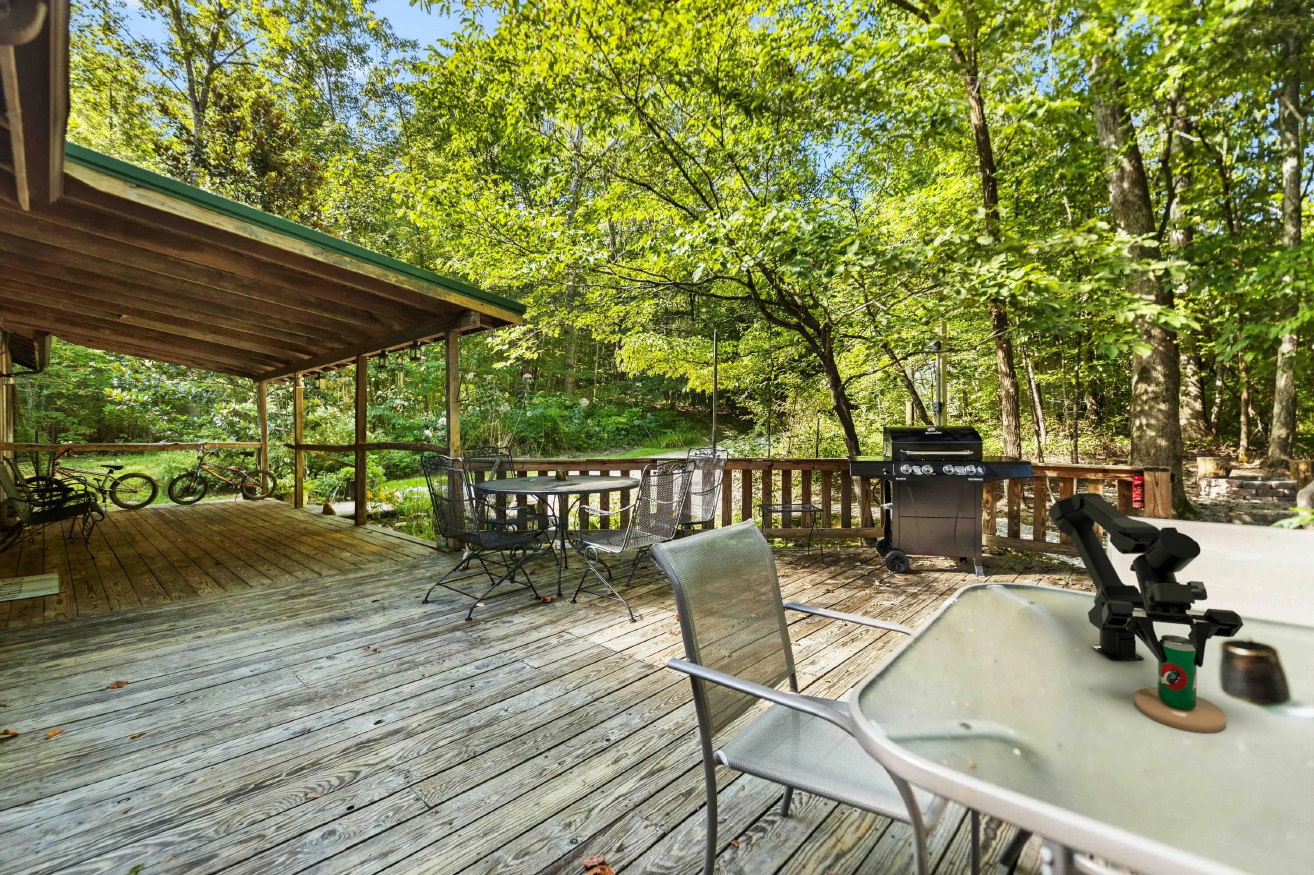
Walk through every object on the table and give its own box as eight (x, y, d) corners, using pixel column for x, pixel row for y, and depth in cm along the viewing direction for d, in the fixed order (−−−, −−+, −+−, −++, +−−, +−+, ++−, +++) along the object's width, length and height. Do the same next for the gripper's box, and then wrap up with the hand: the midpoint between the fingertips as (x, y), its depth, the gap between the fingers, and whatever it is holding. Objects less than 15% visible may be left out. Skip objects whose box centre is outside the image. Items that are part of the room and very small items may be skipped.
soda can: (1202, 713, 96) (1203, 647, 95) (1166, 709, 98) (1167, 644, 97) (1186, 698, 101) (1187, 635, 100) (1152, 694, 102) (1152, 632, 102)
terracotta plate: (1118, 695, 106) (1118, 687, 106) (1186, 695, 104) (1186, 687, 104) (1168, 732, 94) (1168, 724, 94) (1246, 733, 92) (1246, 724, 92)
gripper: (1104, 559, 105) (1123, 638, 96) (1237, 566, 97) (1272, 654, 87) (1094, 586, 113) (1111, 662, 103) (1217, 595, 104) (1247, 679, 95)
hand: (1181, 664), depth 97 cm, fingers closed on soda can, 5 cm apart
